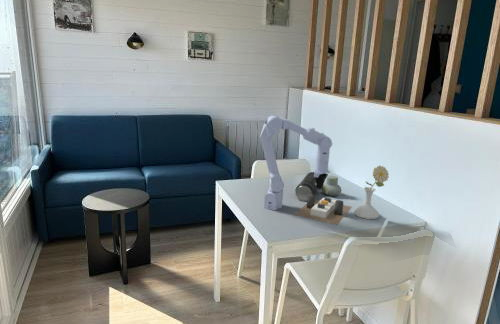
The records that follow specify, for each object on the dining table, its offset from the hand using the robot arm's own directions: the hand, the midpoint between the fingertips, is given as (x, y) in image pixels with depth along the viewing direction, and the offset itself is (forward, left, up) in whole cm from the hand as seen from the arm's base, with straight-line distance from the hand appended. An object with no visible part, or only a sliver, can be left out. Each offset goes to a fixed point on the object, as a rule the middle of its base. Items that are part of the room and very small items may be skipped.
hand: (319, 188), depth 173 cm
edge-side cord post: (-3, -11, -9) cm, 15 cm away
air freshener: (+25, +1, -11) cm, 27 cm away
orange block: (-3, -4, -6) cm, 8 cm away
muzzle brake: (+16, +17, -7) cm, 24 cm away
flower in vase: (+4, -23, -11) cm, 26 cm away
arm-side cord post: (-3, +3, -9) cm, 10 cm away
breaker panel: (-3, -4, -10) cm, 12 cm away
